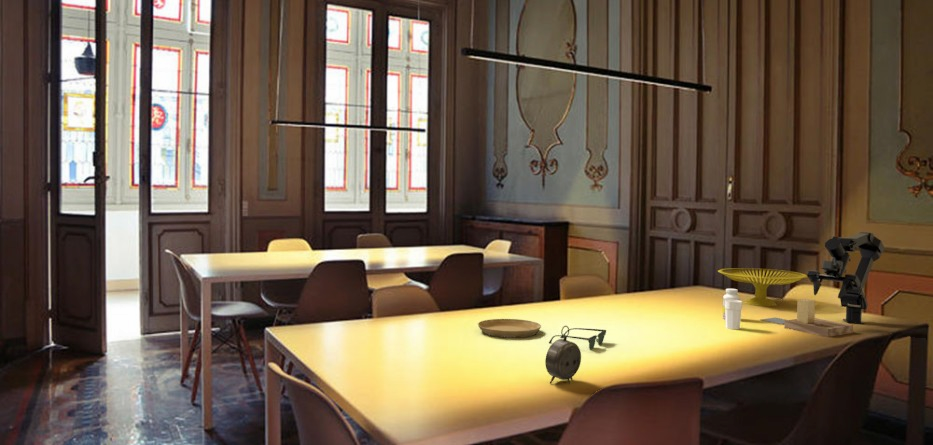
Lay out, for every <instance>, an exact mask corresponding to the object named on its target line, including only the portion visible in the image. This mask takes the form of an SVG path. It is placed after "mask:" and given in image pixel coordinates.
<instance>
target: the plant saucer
mask: <svg viewBox="0 0 933 445" xmlns="http://www.w3.org/2000/svg"><path fill="white" fill-rule="evenodd" d="M477 325H478V329H480V331H482V332H483V333H484V334H486V335H489V336H491V337H497V338H509V339H510V338H511V339H513V338H515V339H518V338H526V337H531V336H533V335H536V334H537V333H538V332H539V331H540V330H541V328H542V324H541V323H538V322H536V321H532V320H527V319H526V320H525V319H519V318H518V319H517V318H491V319H485V320H481V321H479V322H478V323H477Z"/></svg>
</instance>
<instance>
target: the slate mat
mask: <svg viewBox="0 0 933 445" xmlns="http://www.w3.org/2000/svg"><path fill="white" fill-rule="evenodd" d="M759 320H762V321H761V322H765V321H768V322H767V323H770V322H773V323H772V324H775V323H778V324H777V325H780V324H783V325H785V321H786V320H787V319H785V318H784V319H783V318H780V317H770V318H769V317H768V318H761V319H759Z"/></svg>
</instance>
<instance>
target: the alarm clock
mask: <svg viewBox="0 0 933 445" xmlns="http://www.w3.org/2000/svg"><path fill="white" fill-rule="evenodd" d="M564 328H567V330H568V332H567V333H566V334H565V335H564V336H563V334H564V333H563V330H564ZM569 329H570V327H569V326H568V325H564V326H562V328H561V331H560V333H561V335H562V336H563V337H564V338H559V339H557V340H555V341H554V342H553V343H551V345H550V346H549V348H548V349H547V352H546V354H545V355H546V356H545V359H544V360H545V369H546V372H547V373H548V374H549V376H551V380H550V381H549V384H553V381H554V380H555V378H556V379H559V380H562V381H566V380H567V383H568V384H569V385H570V384H571V381H570V379H571V380H572V379H573V377H574V376H575V375H576V373H577V372H578V371H579V369H580V366H581V362H582V352H581V349H580V346H578V345H577V343H575V342H573V341H570V340H567V339H568V337H567V336H569V334H570V330H569Z"/></svg>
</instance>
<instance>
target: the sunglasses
mask: <svg viewBox="0 0 933 445" xmlns="http://www.w3.org/2000/svg"><path fill="white" fill-rule="evenodd" d="M571 330H581V331H582V330H583V331H595V332H599V333H598V334H595V335H592V336H590V337H583V336H582V337H581V336H572V335H568V336H567V334H568V329H567V330H566V331H565V332H564V333H562V334H563V336H564V335H566V336H567V338H570V339H577V340H585V341H588V349H589V350H593V349H594V348H595V345H596V343H597V344H598V345H599V346H600V345H602V344H603V342H604V339H605V336H606V334H607V330H606V329H597V328H580V327H575V328H574V327H573V328H569V331H571ZM562 334H561V335H560V334H558V335H553V336H552V337H551V338H550V340H549V342H548V344H551V345H552V342H553V339H554V338H555V337H559V339H564V337H563V336H562Z"/></svg>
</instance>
